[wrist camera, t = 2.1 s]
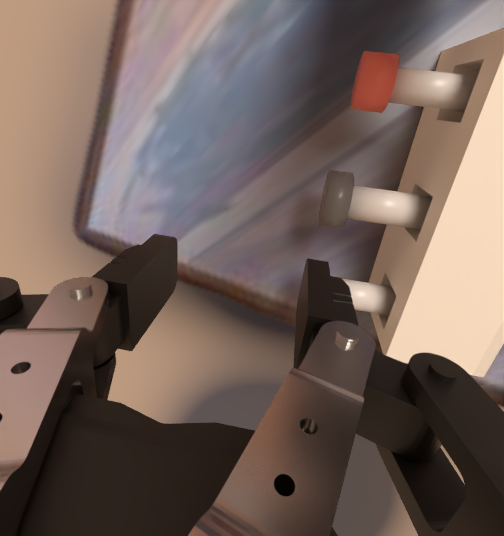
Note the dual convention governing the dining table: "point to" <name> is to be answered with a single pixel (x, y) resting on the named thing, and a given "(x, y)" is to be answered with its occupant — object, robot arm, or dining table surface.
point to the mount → (452, 225)
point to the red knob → (406, 85)
